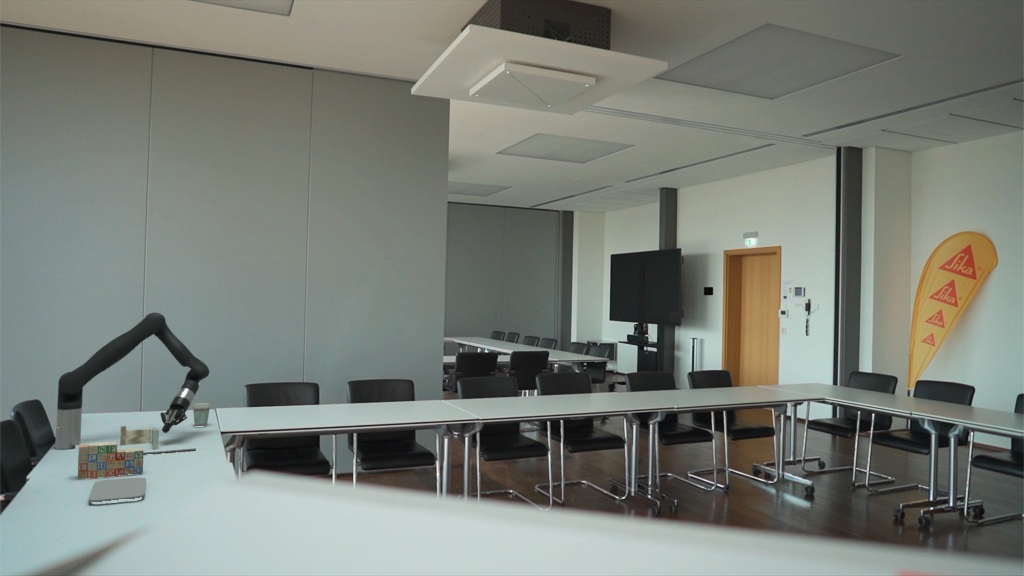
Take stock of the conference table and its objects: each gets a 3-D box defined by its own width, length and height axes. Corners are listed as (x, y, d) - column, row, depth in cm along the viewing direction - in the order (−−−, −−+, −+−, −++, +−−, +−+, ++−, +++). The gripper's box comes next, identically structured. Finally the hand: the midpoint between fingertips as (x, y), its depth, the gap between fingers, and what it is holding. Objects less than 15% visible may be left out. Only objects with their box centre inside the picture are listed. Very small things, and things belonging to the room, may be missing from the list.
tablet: (87, 507, 221) (87, 500, 221) (94, 487, 244) (95, 480, 244) (144, 502, 228) (144, 495, 228) (146, 483, 251) (146, 476, 251)
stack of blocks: (143, 470, 267) (144, 439, 267) (142, 474, 261) (144, 442, 261) (78, 475, 257) (80, 443, 257) (77, 479, 251) (78, 446, 252)
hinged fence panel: (150, 442, 311) (151, 423, 311) (155, 442, 312) (156, 423, 312) (152, 449, 297) (153, 429, 297) (158, 449, 298) (158, 429, 298)
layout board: (118, 457, 286) (118, 454, 286) (116, 444, 309) (116, 442, 309) (195, 451, 302) (196, 448, 302) (188, 439, 325) (188, 437, 325)
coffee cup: (188, 426, 355) (189, 404, 356) (201, 424, 363) (202, 402, 363) (200, 428, 352) (201, 405, 352) (213, 426, 360) (214, 403, 360)
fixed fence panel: (120, 446, 303) (121, 426, 303) (120, 445, 304) (120, 426, 305) (150, 443, 309) (151, 425, 309) (150, 442, 311) (151, 424, 311)
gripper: (166, 394, 315) (147, 426, 303) (192, 396, 313) (174, 427, 301) (173, 404, 320) (154, 435, 308) (198, 406, 318) (181, 437, 306)
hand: (164, 431), depth 304 cm, fingers closed
